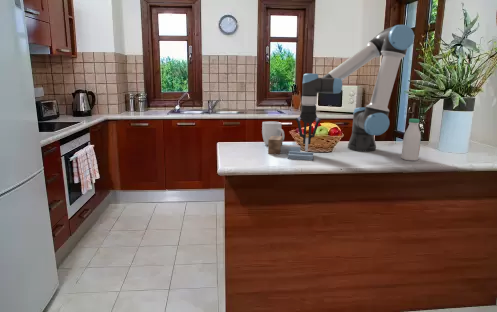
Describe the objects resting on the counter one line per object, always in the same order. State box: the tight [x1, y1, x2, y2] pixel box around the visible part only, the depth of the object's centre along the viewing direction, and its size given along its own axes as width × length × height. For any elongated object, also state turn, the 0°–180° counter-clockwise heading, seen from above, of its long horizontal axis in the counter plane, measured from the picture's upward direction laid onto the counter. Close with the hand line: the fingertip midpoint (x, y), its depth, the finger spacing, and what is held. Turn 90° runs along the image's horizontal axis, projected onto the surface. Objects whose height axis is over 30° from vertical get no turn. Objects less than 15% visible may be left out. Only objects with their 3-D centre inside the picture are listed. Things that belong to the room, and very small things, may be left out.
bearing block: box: [267, 135, 284, 155], centre depth 187 cm, size 6×12×8 cm, turn 168°
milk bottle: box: [401, 118, 422, 162], centre depth 173 cm, size 8×8×20 cm
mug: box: [261, 120, 285, 146], centre depth 203 cm, size 15×11×13 cm
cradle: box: [287, 151, 314, 161], centre depth 175 cm, size 12×9×2 cm
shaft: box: [280, 144, 301, 154], centre depth 186 cm, size 15×4×4 cm, turn 83°
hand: (306, 150), depth 184 cm, fingers closed
